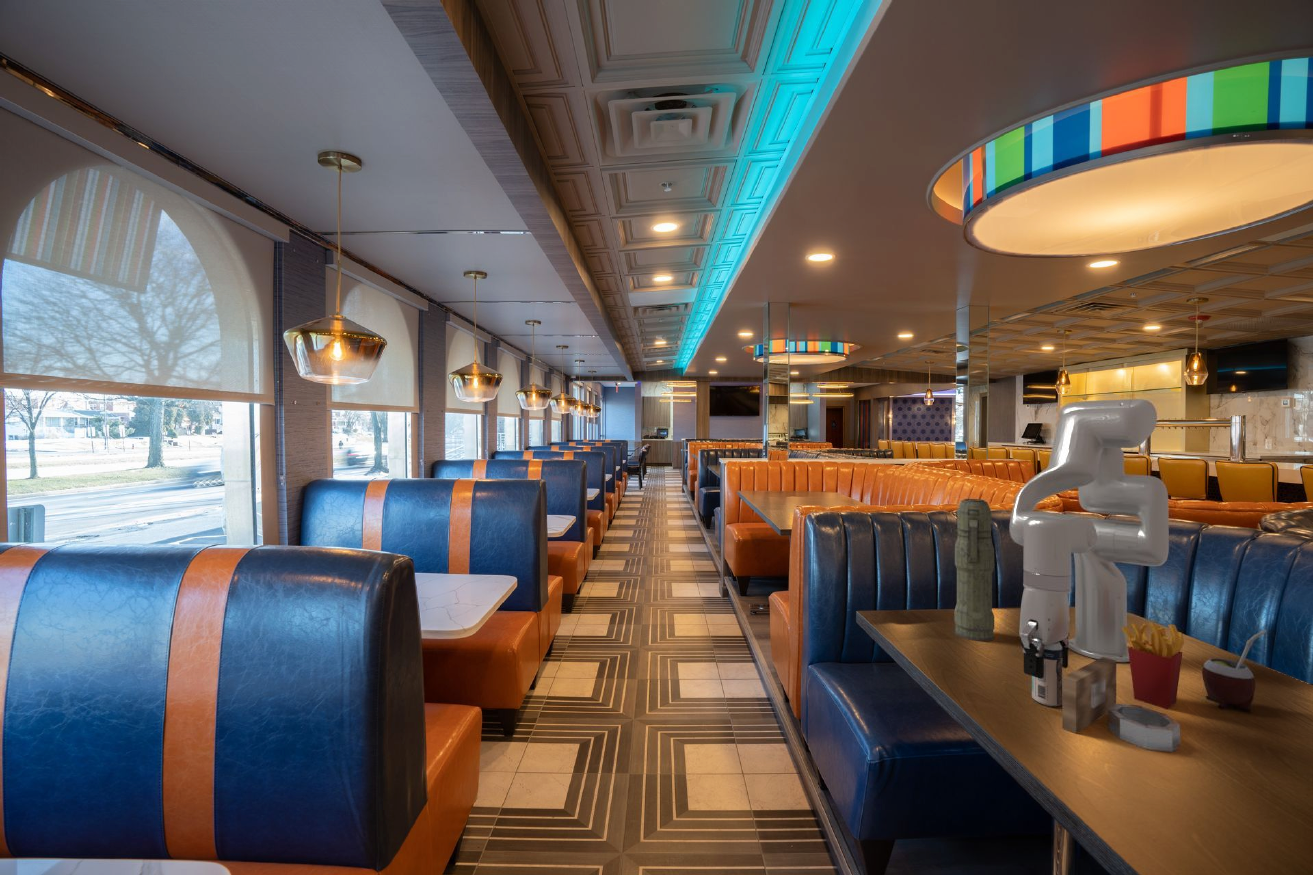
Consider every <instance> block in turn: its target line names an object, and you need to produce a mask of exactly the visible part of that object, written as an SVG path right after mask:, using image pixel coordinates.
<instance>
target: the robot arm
mask: <svg viewBox="0 0 1313 875" xmlns="http://www.w3.org/2000/svg"><path fill="white" fill-rule="evenodd" d="M1058 415H1059V416H1058V417H1059V419H1058V422H1057V425H1056V430H1055V434H1054V439H1053V444H1052V447H1051V452H1050V456H1049V462H1048V465H1047V467H1046V469H1043V471H1040V472H1039V473H1038V474H1036V475H1034V476H1033V477H1032V478H1030V479H1029V480H1028V481H1027V482H1026V483H1025V484H1024V485H1023V486H1022V487H1020V488H1021V489H1020V490H1019V491H1018V493H1017V494H1016V496H1015V499H1014V502H1013V507H1012V510H1011V515H1010V519H1009V525H1008V526H1009V529H1008V530H1009V535H1010V537H1011V539H1012V541H1013V542H1014V543H1016V544H1018V545H1020V546H1022V547H1023V551H1022V552H1023V554H1022V555H1023V557H1022V558H1023V559H1022V560H1023V566H1022V568H1023V570H1022V571H1023V572H1022V573H1023V575H1022V579H1023V580H1022V582H1023V583H1022V585H1023V592H1022V597H1021V604H1020V614H1019V615H1020V616H1019V637H1020V640H1021V647H1022V653H1023V673H1024V674H1025V675H1029V676H1031V677H1032V676H1034V677H1037V678H1040V679H1042V678H1044V657H1042V653H1043V650H1044V647H1045V645H1050V644H1053V643H1055V642H1058V641H1059V642H1060V644H1061V646H1062V669H1067V668H1068V667H1069V650H1071V651H1073V652H1075V653H1077V654H1079V655H1081V656H1085V657H1088V658H1092V659H1094V660H1095V659H1096V660H1098V659H1100V658H1102V657H1106V658H1109V659H1113V660H1116V663H1130V660H1129V652H1128V648H1129V647H1128V642H1127V641H1128V637H1127V636H1126V634H1125V633H1124V631H1123V630H1122V629H1121V628H1122V627H1125V626H1127V627H1128V625H1127V623H1128V619H1127V618H1128V617H1127V616H1128V612H1127V611H1128V608H1127V606H1128V604H1127V601H1128V600H1127V599H1128V596H1127V594H1128V593H1127V592H1128V588H1127V587H1128V584H1127V579H1126V577H1125V576H1124V574H1123V572H1121V570H1120V569H1119V568H1118V567H1117V566H1116V564H1115V563H1123V564H1131V565H1137V566H1138V565H1139V566H1144V567H1145V566H1146V567H1160V566H1162V565H1164V564H1165V563H1166V562H1167V560H1168V556H1169V553H1170V552H1169V551H1170V549H1169V548H1170V544H1169V543H1170V537H1169V536H1170V534H1169V532H1170V531H1169V530H1170V529H1169V527H1170V525H1169V524H1170V523H1169V522H1170V521H1169V520H1170V517H1169V494H1168V493H1169V492H1168V490H1167V487H1166V484H1165V483H1164V482H1163V480H1162V479H1160V478H1158V477H1157V476H1152V475H1145V474H1144V475H1141V474H1126V472H1125V453H1124V451H1123V450H1122V449H1126V448H1127V449H1132V448H1138V447H1139V446H1141V445H1143V443H1144V442H1145V441H1146V440H1147V439H1148V438H1149V437H1150V436H1151V435H1152V434H1153V432H1154V431H1155V429H1156V427H1157V422H1158V413H1157V409H1156V408H1155V406H1154V404H1153V403H1152V402H1150V400H1147V399H1142V398H1140V399H1139V398H1137V399H1136V398H1135V399H1134V398H1133V399H1132V398H1131V399H1130V398H1129V399H1110V400H1107V399H1106V400H1101V399H1100V400H1099V399H1098V400H1084V401H1075V402H1074V401H1073V402H1070V403H1068V404H1065V405H1063V406H1061V408H1060V410H1059V413H1058ZM1074 489H1078V490H1077V493H1078V502H1079V505H1080V507H1081V508H1082V509H1083V510H1085V511H1087V512H1091V513H1095V514H1101V515H1102V514H1103V515H1113V516H1123V517H1125V516H1126V517H1135V518H1138V520H1139V521H1140V522H1133V521H1123V520H1115V519H1105V518H1087V517H1084V516H1081V515H1075V514H1065V513H1064V514H1063V513H1058V512H1057V513H1055V512H1048V511H1047V512H1046V511H1034V509H1035V508H1036V506H1037V505H1038V504H1039V503H1040V502H1042V501H1043V500H1045V499H1047V498H1049V497H1051V496H1054V495H1057V494H1061V493H1065V492H1067V491H1071V490H1074ZM1072 554H1073V560H1074V574H1075V576H1074V577H1075V579H1074V580H1075V582H1074V583H1075V585H1074V586H1075V588H1074V592H1075V594H1074V595H1075V596H1074V597H1075V601H1074V602H1075V606H1074V607H1075V608H1074V609H1075V610H1074V611H1075V617H1074V619H1075V623H1074V624H1075V626H1074V627H1075V630H1074V631H1075V632H1074V633H1075V637H1072V638H1069V637H1070V627H1071V620H1070V619H1071V618H1070V605H1069V602H1070V600H1069V594H1071V593H1072ZM1036 638H1039V639H1036ZM1068 638H1069V639H1068ZM1040 639H1041V640H1040ZM1033 643H1035V644H1038V648H1036V647H1035V645H1034V644H1033Z"/></svg>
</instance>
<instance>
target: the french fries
mask: <svg viewBox="0 0 1313 875" xmlns="http://www.w3.org/2000/svg"><path fill="white" fill-rule="evenodd" d="M1130 625H1131V627H1132V628H1133V630H1134V634H1135V636H1134V635H1133V632H1131V630H1130V629H1129V627H1128V625H1127V626H1125V627H1122V628H1121V629H1122V630H1123V631H1124V633H1125V634H1126V636H1127V640H1128V641H1129V643H1130V647H1127V648H1128V652H1129V660H1130V662H1129V666H1130V667H1129V668H1130V674H1131V682H1132V688H1133V696H1134V700H1136V699H1138V701H1140V702H1143V701H1144V702H1143V703H1146V704H1149V705H1153V706H1155V707H1158V708H1162V709H1165V710H1168V709H1169V708H1171V707H1172V706H1174V705H1175V704H1176V703H1177V699H1178V698H1177V696H1178V687H1179V681H1180V674H1181V667H1182V666H1181V665H1182V659H1183V652H1182V651H1181V650H1182V649H1183V646H1184V643H1185V642H1184V640H1185V639H1184V635H1183V633H1182V632H1180V631H1179V632H1178V629H1177V627H1176V625H1175V624H1168V628H1169V629H1170V634H1171V640H1170V637H1168V636H1167V635H1166V629H1165V628H1164V627H1162V626H1161V625H1160V624H1156V623H1155V622H1149V623H1148V624H1146V623H1143V624H1142V626H1141V627H1139V626H1138V624H1137V623H1135V622H1133V623H1131V624H1130ZM1148 626H1150V628H1151V630H1152V632H1151V638H1150V640H1149V639H1148V637H1147V635H1146V634H1145V633H1144V632H1145V630H1146V629H1147V628H1148ZM1143 640H1144V642H1143ZM1150 642H1151V643H1150Z"/></svg>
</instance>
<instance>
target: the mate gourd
mask: <svg viewBox="0 0 1313 875" xmlns="http://www.w3.org/2000/svg"><path fill="white" fill-rule="evenodd" d="M1267 632H1268V630H1266V629H1263V630H1262V631H1260V632H1258V633H1256V634H1254V635H1253V636H1251V637H1250V638H1249V639H1247V641H1246V642H1245V647H1244V649H1243V651H1242V654H1241V656H1240V658H1239V661H1235V660H1230V659H1226V658H1219V657H1218V658H1217V657H1214V658H1213V657H1212V658H1209V659H1208V660H1206V661H1205V662H1204V663H1203V667H1202V670H1201V674H1202V675H1201V676H1202V680H1203V685H1204V689H1205V690H1206V694H1207V695H1205V699H1206V700H1209V701H1212V702H1214V703H1217V704H1218V705H1217V708H1218V709H1220V710H1225V709H1228V708H1233V709H1236V710H1240V711H1242V712H1245V713H1248V714H1251V713H1252V712H1253V710H1252V709H1251V705H1252V703H1253V701H1254V697H1255V696H1254V695H1255V691H1256V681H1255V678H1254V674H1253V672H1252V671H1251V669H1250V668H1249V667H1248V666H1247V665H1246V664H1244V662H1245V660H1246V657H1247V655H1248V653H1249V651H1250V649H1251V647H1252V646H1253V644H1254V643H1255V640H1257V638H1260V637H1261V636H1262V635H1264V634H1266V633H1267Z"/></svg>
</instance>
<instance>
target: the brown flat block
mask: <svg viewBox="0 0 1313 875" xmlns="http://www.w3.org/2000/svg"><path fill="white" fill-rule="evenodd" d="M1115 704H1117V662H1116V660H1113V659H1109V658H1106V657H1102V658H1100V659H1096V660H1094V661H1092V662H1090V663H1088V664H1087V665H1084V666H1081V667H1080V668H1078V669H1076V670H1074V671H1072V672H1070V673H1068V674H1066V675H1064V676H1062V704H1061V705H1062V708H1061V709H1062V710H1061V711H1062V713H1061V714H1062V718H1061V719H1062V726H1061V727H1062V728H1061V729H1063V728H1064V729H1063V730H1065V729H1067V730H1066V731H1068V730H1069V731H1068V732H1071V733H1073V732H1074V734H1077V733H1079V732H1081V731H1082V730H1084V729H1085V728H1087V727H1089V726H1090V725H1093V723H1096V721H1098V720H1099V719H1101V718H1103V717H1105V716H1106V715H1108V708H1110V707H1112V706H1113V705H1115ZM1088 725H1089V726H1088ZM1081 729H1082V730H1081ZM1080 730H1081V731H1080Z"/></svg>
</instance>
